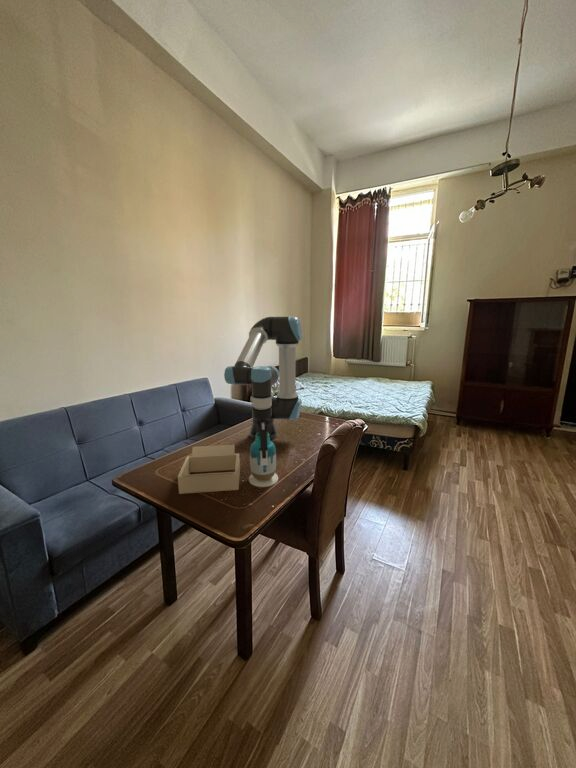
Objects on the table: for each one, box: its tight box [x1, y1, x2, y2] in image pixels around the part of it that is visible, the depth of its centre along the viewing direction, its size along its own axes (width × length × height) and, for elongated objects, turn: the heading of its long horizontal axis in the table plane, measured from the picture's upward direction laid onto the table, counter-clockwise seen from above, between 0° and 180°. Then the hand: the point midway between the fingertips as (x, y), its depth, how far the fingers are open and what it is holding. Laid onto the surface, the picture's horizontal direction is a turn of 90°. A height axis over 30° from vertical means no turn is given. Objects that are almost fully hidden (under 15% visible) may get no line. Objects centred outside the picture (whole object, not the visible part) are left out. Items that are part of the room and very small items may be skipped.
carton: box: [177, 444, 241, 495], centre depth 126 cm, size 25×22×10 cm
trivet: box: [248, 472, 279, 488], centre depth 128 cm, size 12×12×1 cm
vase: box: [249, 432, 277, 481], centre depth 125 cm, size 11×11×19 cm
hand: (263, 456), depth 126 cm, fingers open, 13 cm apart
